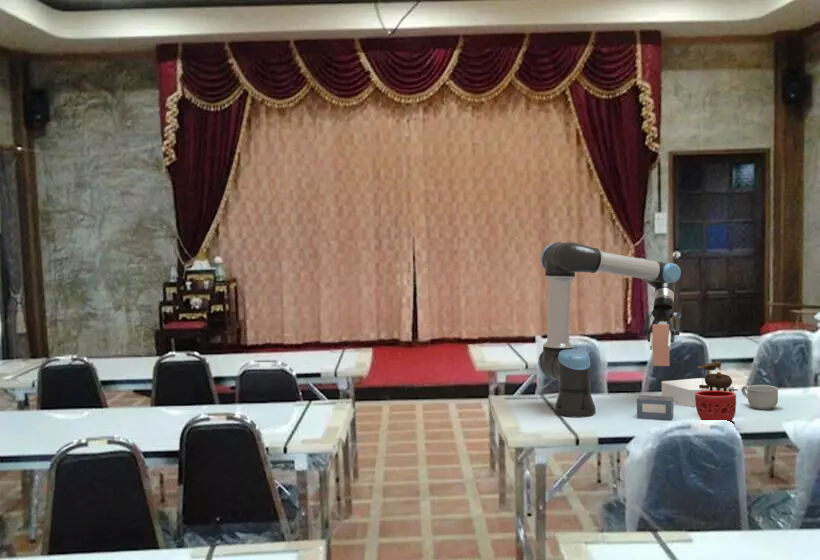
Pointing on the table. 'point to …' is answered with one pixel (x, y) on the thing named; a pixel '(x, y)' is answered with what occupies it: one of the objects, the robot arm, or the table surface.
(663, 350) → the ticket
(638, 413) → the block
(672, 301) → the robot arm
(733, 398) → the plant pot
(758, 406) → the teacup
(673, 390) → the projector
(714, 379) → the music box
